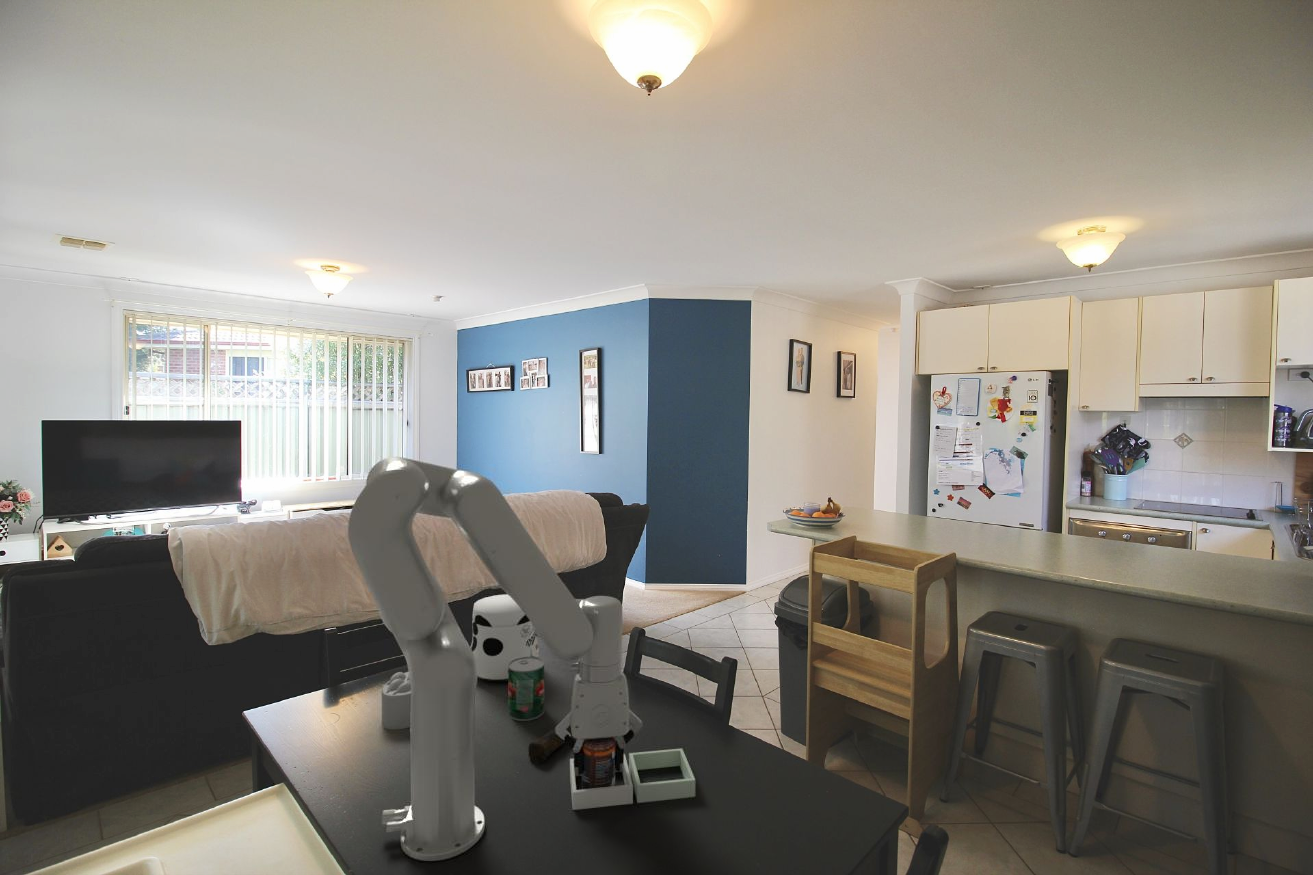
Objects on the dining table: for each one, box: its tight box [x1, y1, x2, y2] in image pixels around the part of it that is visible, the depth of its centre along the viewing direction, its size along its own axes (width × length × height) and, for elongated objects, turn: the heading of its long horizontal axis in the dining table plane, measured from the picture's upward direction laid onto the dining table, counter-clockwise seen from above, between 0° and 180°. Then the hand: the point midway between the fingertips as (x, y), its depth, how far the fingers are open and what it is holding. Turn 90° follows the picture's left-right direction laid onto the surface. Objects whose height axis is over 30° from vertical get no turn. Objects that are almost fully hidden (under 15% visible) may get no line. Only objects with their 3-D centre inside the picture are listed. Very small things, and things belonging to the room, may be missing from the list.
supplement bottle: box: [581, 737, 616, 790], centre depth 110 cm, size 6×6×11 cm
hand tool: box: [527, 724, 572, 764], centre depth 126 cm, size 19×4×5 cm, turn 150°
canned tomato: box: [507, 657, 545, 722], centre depth 137 cm, size 8×8×11 cm
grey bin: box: [569, 753, 634, 811], centre depth 110 cm, size 10×10×3 cm
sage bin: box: [628, 747, 696, 804], centre depth 112 cm, size 10×10×3 cm
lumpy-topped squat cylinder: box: [381, 671, 411, 730], centre depth 136 cm, size 10×13×9 cm
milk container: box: [470, 593, 540, 683], centre depth 157 cm, size 17×17×18 cm
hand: (598, 767), depth 110 cm, fingers closed on supplement bottle, 6 cm apart
